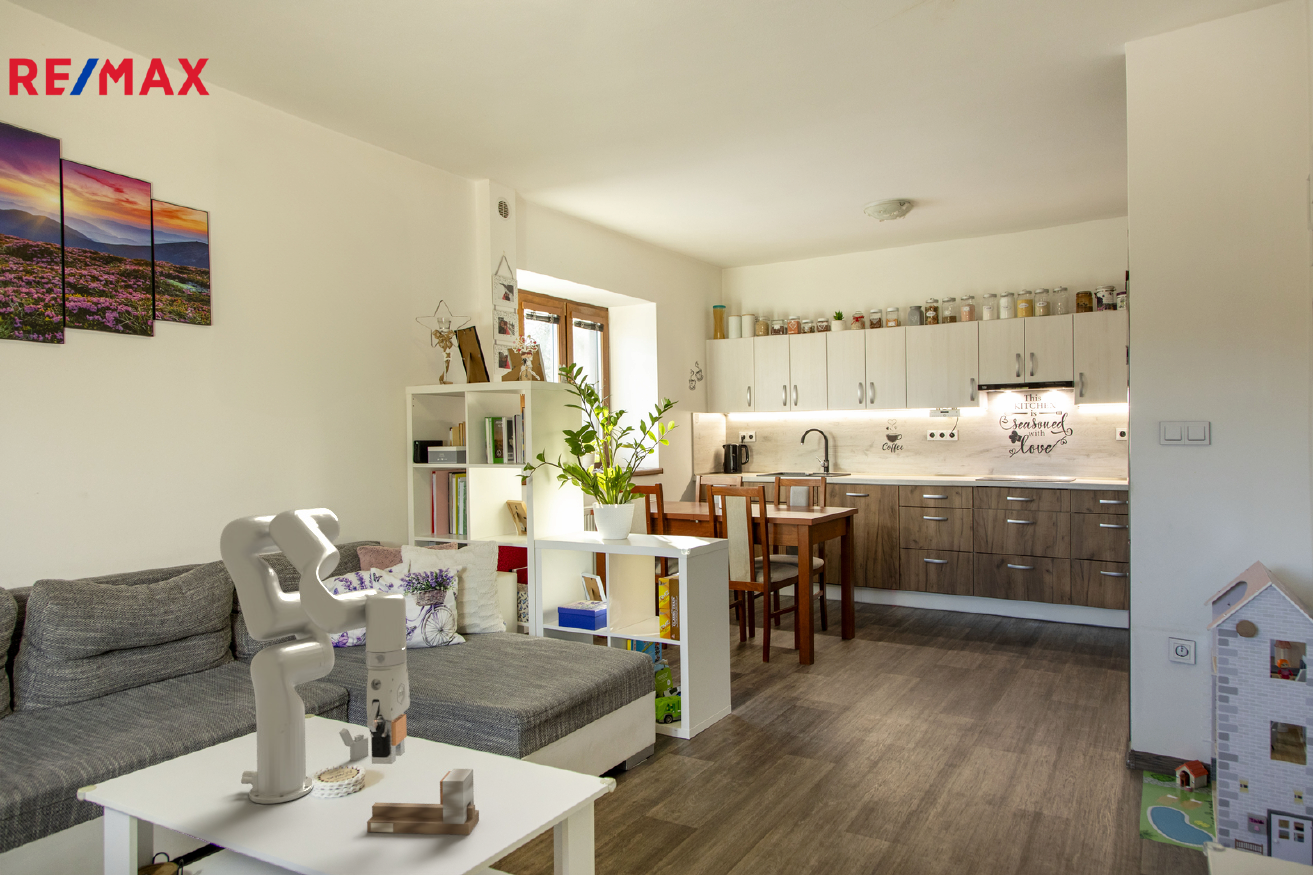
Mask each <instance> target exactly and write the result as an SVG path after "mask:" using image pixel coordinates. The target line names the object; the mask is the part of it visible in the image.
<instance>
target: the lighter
mask: <svg viewBox="0 0 1313 875" xmlns="http://www.w3.org/2000/svg"><path fill="white" fill-rule="evenodd" d="M338 734H339V736H340V738H341V739H342V742H343V744H344V746H346V747H349V754H350V755H349V758H350V761H353V762H356V761H359V760H361V759H364V758H366V757H369V737H368V736H365V734H362V733H360V734H357V735H355V736H353V737H354V738H353V737H352V735H351V733H350V731H349V729H348V728H342V729H341V730H340V731H339V732H338Z"/></svg>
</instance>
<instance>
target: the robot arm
mask: <svg viewBox="0 0 1313 875" xmlns="http://www.w3.org/2000/svg"><path fill="white" fill-rule="evenodd" d="M340 532H341V525H340V521H339V519H338V516H336V514H335V513H334V512H333V511H332V510H330V509H328V508H326V507H311V508H297V509H295V508H294V509H288V510H284V511H282V512H280V513H271V514H258V515H257V514H256V515H249V516H243V517H239V518H235V519H234V520H232V521H230V522H229V523H227V524H226V525H225V526H224V528H223V529H222V532H221V535H220V538H219V539H220V540H219V550H220V556H221V559H222V562H223V564H224V566H225V568H226V571H227V572H228V574H229V576H230V577H231V580H232V581H233V584H234V587H235V589H236V590H235V591H236V594H237V598H238V602H239V605H240V608H241V613H242V615H243V619H244V623H245V627H246V629H247V630H246V631H247V632H248V634H249V636H250V637H251V639H253V640H255V641H258V642H266V641H273V640H278V639H281V638H286V637H290V636H295V638H296V639H295V640H290V641H285V642H284V641H283V642H280V643H277V644H272V645H269V646H267V647H265V648H262V649H260V651H258V652H257V653H255V655H254V656H253V657H252V660H251V663H250V668H249V669H250V678H251V681H252V686H253V690H254V698H255V700H254V701H255V715H256V717H255V718H256V719H255V720H256V721H255V722H256V771H254V770H244V771H243V772H242V774H241V775H242V776H241V780H240V783H241V784H244V785H249V784H251V785H252V786H251V789H250V790H249V794H248V796H249V798H248V799H249V800H250V801H252V802H254V803H256V804H265V805H267V804H269V805H270V804H278V803H279V804H280V803H285V802H289V801H293V800H296V799H298V798H302V797H303V796H306V795H307V794H309V792H311V791H312V790H311V787H312V779H313V778H311V777H309V776H307V769H306V767H307V766H306V763H307V762H306V757H307V756H306V753H307V752H306V710H305V703H304V701H303V699H302V697H300V695H299V694H298V692H297V691H296V689H295V687H296V686H299V685H302V684H305V683H309V682H311V681H315V680H318V679H321V678H323V677H326V676H328V675H329V674H330V673H331V671H332V670H333V668H334V665H335V660H336V659H335V658H336V657H335V650H334V645H333V643H332V639H331V635H338V634H343V633H346V632H350V631H354V630H355V631H356V630H358V629H365V665H366V666H365V667H366V668H367V669H368V671H367V672H368V673H367V680H366V682H367V684H366V717H367V721H366V726H367V728H368V730H369V732H370V738H371V737H372V751H371V758H372V757H379V758H387V757H388V756H389V736H387V729H388V721H393V720H394V719H396V718H397V717H398V716H399V715H401V714H402V713H403V712H404V713H405V712H406V711H407V710H408V709H409V708H410V706H411V698H410V696H411V695H410V683H409V682H410V680H409V672H408V671H409V670H408V665H407V661H408V658H407V617H406V616H407V613H406V612H407V610H406V609H407V607H406V605H407V604H406V603H407V602H406V598H405V595H403V594H402V593H401V592H400V593H398V592H385V591H383V590H380V589H378V588H363V589H358V590H352V591H346V592H341V593H336V594H332V593H331V592H330V591H329V589H328V588H326V586H325V585H324V584H323V582H322V581H323V580H325V579H326V578H328V577H329V576H330V575H331V574H332V573H333V572H334V571H335V570H336V568H337V567H338V565H339V563H340V560H341V557H340V556H341V554H340V552H339V550H338V548H337V547H336V546H335V545H334V544H333V543H334V542H336V540H337V539H338V537H339V536H340ZM276 552H277V553H278V552H282V554H283V555H284V556H285V557H286V559H287V560H288V561H289V562H290V563H291V564H292V566H293V567H294V568H295V569H296V571H297V572H298V573H299V574H300V575H301V576H300V580H299V583H298V590H295V591H290V592H284V591H283V590H282V588H281V585H280V581H279V577H278V574H277V572H276V571H275V570H274V569H273V567H272V566H271V565H270V564H269V562H267V561H266V560H264V559H263V558H261V557H260V554H269V553H276ZM379 716H383V718H384V719H377V718H378V717H379ZM378 723H383V728H381V726H380V725H378Z"/></svg>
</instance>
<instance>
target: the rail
mask: <svg viewBox="0 0 1313 875" xmlns="http://www.w3.org/2000/svg"><path fill="white" fill-rule="evenodd" d="M474 792H475V791H474V769H473V768H452V769H451V770H449V771H447V773H446V774H445V775H444V776H443V777H442V778H441V779H440V781H439V803H415V802H414V803H413V802H411V803H410V802H374V803H373V805H372V806H371V817H369V819H368V820H367V822H366V832H367V833H383V834H384V833H385V834H387V833H391V834H392V833H394V834H424V835H425V834H429V835H464V836H465V835H466V836H467V835H468V836H469V835H470V834H471V832H472V831H473V830H474V828H475V827H476V826H477V824H478V822H479V821H480V810H479V809H476V804H475V803H474V802H475V800H474V799H475V798H474V797H475V796H474V795H475V794H474Z"/></svg>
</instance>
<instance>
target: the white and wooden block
mask: <svg viewBox="0 0 1313 875" xmlns="http://www.w3.org/2000/svg"><path fill="white" fill-rule="evenodd" d="M377 719H384V718H383V716H379V717H378V718H377ZM378 725H380V726H381V728H383V723H378ZM407 731H408V730H407V713H405V711H404V712H403V713H402V714H401V715H399V716H398V717H397V718H396V719H394V720H393V721H388V729H387V736H389V756H388V757H387V758H379V757H372V756H371V764H373V765H378V764H380V765H392V764H393V763H395V762H396V760H397V758H396V757H401V756H403V754H404V753H405V749H406V748H405V739H406V738H407V733H408V732H407ZM370 738H371V739H370V742H371V743H370V744H371V746H370V747H371V752H372V737H371V736H370Z"/></svg>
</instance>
